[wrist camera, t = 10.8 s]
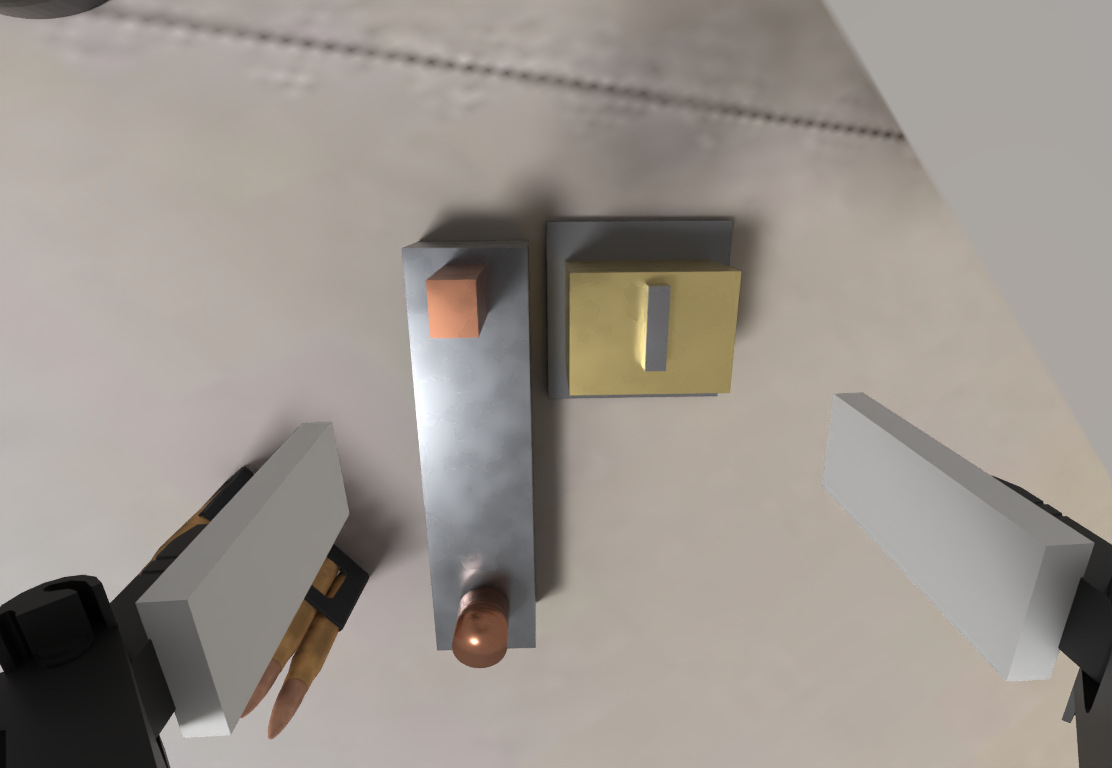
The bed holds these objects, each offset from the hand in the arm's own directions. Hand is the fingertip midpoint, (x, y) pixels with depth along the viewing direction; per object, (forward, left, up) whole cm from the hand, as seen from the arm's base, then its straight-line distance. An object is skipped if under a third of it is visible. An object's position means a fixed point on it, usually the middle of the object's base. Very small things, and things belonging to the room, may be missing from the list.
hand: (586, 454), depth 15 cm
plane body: (+8, -5, -19) cm, 21 cm away
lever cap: (0, +4, -18) cm, 18 cm away
